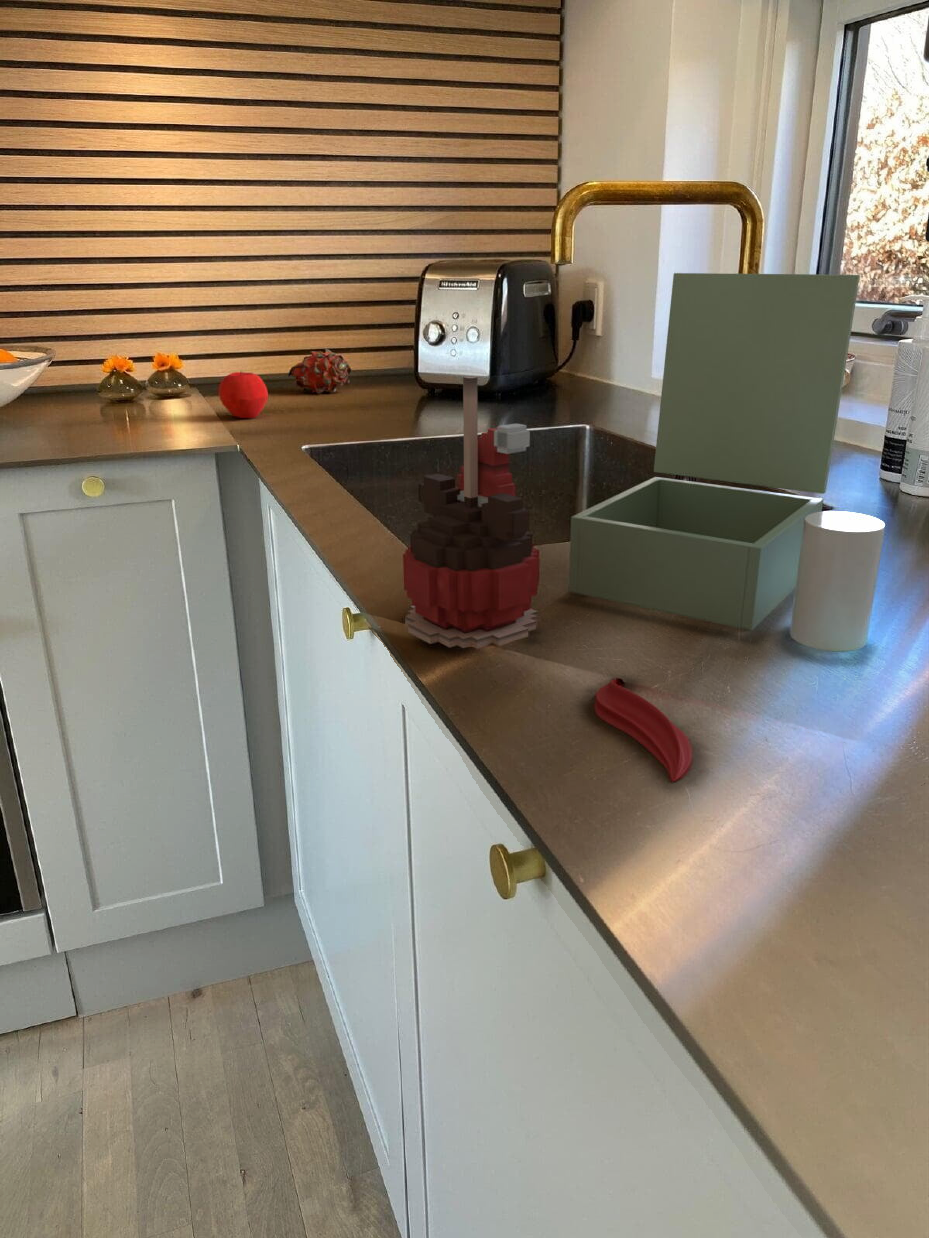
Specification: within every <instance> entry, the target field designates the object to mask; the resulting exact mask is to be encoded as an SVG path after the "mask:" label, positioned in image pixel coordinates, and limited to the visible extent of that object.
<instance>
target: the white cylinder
mask: <svg viewBox="0 0 929 1238" xmlns="http://www.w3.org/2000/svg"><path fill="white" fill-rule="evenodd" d="M886 526H887V525H886V523H885V522H884V521H883V520H881V519H879V518H877V517H875V516H871V515H867V514H865V513H864V514H863V513H859V512H858V513H857V512H852V511H851V512H850V511H837V510H836V511H835V510H829V511H828V510H827V511H822V512H816V513H812V514H809V515H807V516H806V517H805V518H804V525H803V533H802V540H801V548H800V556H799V564H798V571H797V579H796V587H795V589H794V595H793V603H792V611H791V618H790V626H789V636H790V638H792V639H793V640H794V641H795V642H797V643H799V644H801V645H804V646H806V647H810V648H813V649H817V650H823V651H829V652H849V651H851V652H852V651H856V650H859V649H862V648H864V647H865V646H866V645H867V643H868V637H869V630H870V624H871V618H872V613H873V605H874V600H875V594H876V587H877V581H878V576H879V569H880V563H881V557H882V551H883V545H884V538H885V533H886Z"/></svg>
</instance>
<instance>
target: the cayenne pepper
mask: <svg viewBox="0 0 929 1238" xmlns="http://www.w3.org/2000/svg"><path fill="white" fill-rule="evenodd" d="M593 707H594V708H593V709H594V712H595V714H596V715H597V716H598V717H599V718H600V719H601V720H602V721H604V722H606V723H607V724H609V725H610V726H612V727H614V728H616V729H619V730H620V731H622V732H624V733H626V734H627V735H629V736H630V737H632V738H633V739H634V740H635V741H637V742H638V743H639V744H641V746H643V747H644V748H646V750H647V751H649V752H650V753H651V754H652V755H653V756H654V757H655V758H656V759H657V760H658V762H660V763H661V764H662V766H663V767H664V768H665V769H666V771H667V772H668V775H669V776H668V777H669V779H670V781H671V782H672V783H674V782H677V781H679V780H681V779H683V777H685V776H686V775H687V773H688V772H689V770H690V769H691V768H692V759H693V750H692V746H691V742H690V740H689V738H688V737H687V736H686V734H685V733H684V732H683V731H682V730H681V729H680V728H679V727H678V726H677V725H676V724H675V723H673V722H672V721H670V719H669V718H668V717H667V716H666V715H665V714H664V712H662V711H661V710H660V709H659V708H658V707H657V706H655V705H654V704H653V703H651V702H650V701H648V700H647V699H646V698H644V697H642V696H640V695H639V694H637V693H636V692H633V691H631V690H630V689H628V688H626V687H625V680H623V679H622V678H619V677H616V678H613V679H611V680H610V682H609V683H606V685H604V686H602V687H600V688H599V690H598V691H597V692H596V694H595V702H594V706H593Z"/></svg>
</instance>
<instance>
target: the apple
mask: <svg viewBox="0 0 929 1238" xmlns="http://www.w3.org/2000/svg"><path fill="white" fill-rule="evenodd" d="M266 385H267V384H265V382H264V380H263V379H262V378H261V377H260V376H259V375H258V374H256V373H254V372H242V371H241V370H240V371H236V372H235V371H234V372H231V373H229V374H228V375H227V374H226V376H224V377H223V378H222V380H221V381H220V384H219V385H218V396H219V400H220V402H221V404H222V405H223V406H224V408H226V410H227V411H228V412H229V413H230V414H231V415H232V416H233V417H235V418H239V419H255V418H257V417H258V416H259V415H260V414H261V412H262V411H263V409H264V407H265V405H266V404H267V402H268V401H267V400H268V397H269V393H268V392H269V391H268V388H267V386H266Z"/></svg>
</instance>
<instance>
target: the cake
mask: <svg viewBox="0 0 929 1238" xmlns="http://www.w3.org/2000/svg"><path fill="white" fill-rule="evenodd" d="M462 382H463V383H462V400H463V404H462V405H463V406H462V408H463V410H462V411H463V414H462V415H463V417H462V418H463V465H460V474H459V473H458V474H457V486H456V478H455V477H452V476H448V475H445V474H441V473H434V474H428V475H424V476H423V482H419V483H418V484H417V485H418V487H417V488H418V503H422V504H423V508H424V509H423V510H424V513H425V514H428V515H431V516H430V517H427V520H426V521H421V522H417V528H416V529H412V532H411V533H410V534H409V537H410V538H409V539H410V541H409V542H410V543H409V544H410V545H407V549H405V553H403V554H402V564H403V565H402V567H403V568H402V570H403V590H404V591H405V592H406V598H407V599H410V600H411V603H412V605H411V606H409V610H407V615H405V616H404V623H405V624H404V625H405V626H407V632H408V633H409V634H410V635H412V636H414V637H416V638H418V639H419V640H422V641H424V642H426V643H428V644H430V645H432V644H435V643H440V644H442V645H444V646H446V647H447V648H452V647H457V646H458V647H460V648H462V649H465V648H466V649H467V648H469V647H473V648H475V649H476V650H478V649H481V648H484V647H487V646H489V645H491V644H494V645H496V646H498V647H499V646H503V645H506V644H510V643H513V642H515V641H518V640H521V639H524V638H528V637H529V632H531V631H534V630H537V624H538V618H539V617H538V616H539V611H538V610H536V609H533V604H532V597H533V596H537V595H538V591H539V590H538V589H539V588H538V587H539V582H540V549H537V548H535V547H534V545H535V544H534V543H533V533H532V532H529V531H530V522H531V521H530V520H531V519H530V515H531V514H530V513H531V511H530V510H529V509H526V508H524V498H522V497H520V496H516V483H513V473H512V472H510V454H515V453H516V454H517V453H521V452H526V451H527V448H528V447H530V446H531V445H530V444H531V443H530V441H531V432H530V430H527V427H528V426H527V425H526V424H522V423H510V424H504V425H498V426H497V427H493V428H487V431H484V432H481V434H480V435H481V436H479V434H478V433H479V432H478V429H479V427H478V422H479V421H478V420H479V419H478V418H479V417H478V415H479V414H478V408H479V407H478V406H479V405H478V402H479V401H478V376H472V375H471V376H464V377H462Z"/></svg>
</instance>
